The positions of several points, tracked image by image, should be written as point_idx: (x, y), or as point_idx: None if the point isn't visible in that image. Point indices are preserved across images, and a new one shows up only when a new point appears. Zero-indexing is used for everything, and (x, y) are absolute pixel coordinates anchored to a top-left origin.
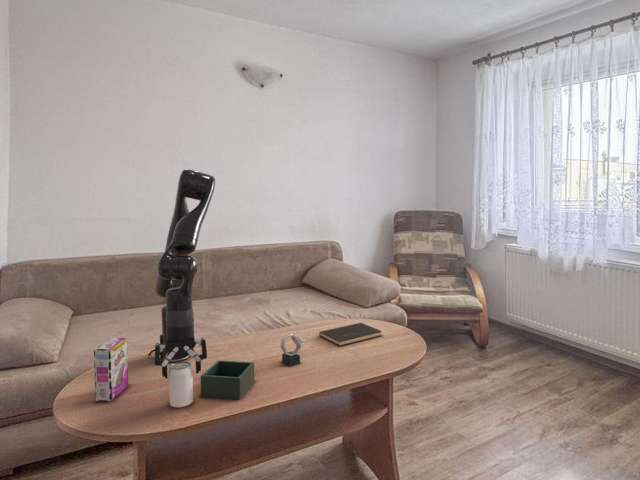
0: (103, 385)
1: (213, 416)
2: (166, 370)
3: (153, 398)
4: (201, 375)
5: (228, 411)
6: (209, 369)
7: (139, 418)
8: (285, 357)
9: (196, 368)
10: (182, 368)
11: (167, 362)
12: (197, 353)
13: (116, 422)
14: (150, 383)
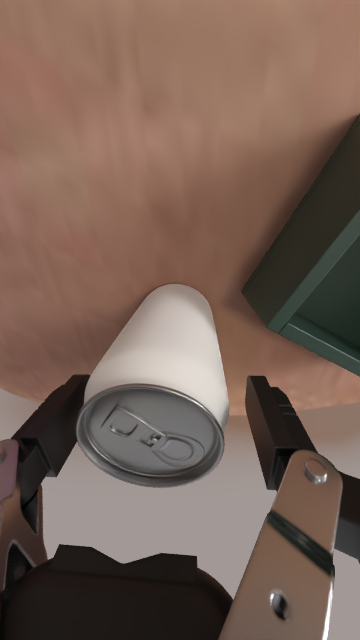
0: None
1: None
2: (68, 447)
3: (76, 246)
4: (272, 325)
5: (297, 404)
6: (345, 245)
7: (75, 362)
8: None
9: (255, 438)
10: (166, 486)
11: (37, 520)
12: (336, 530)
13: (25, 362)
14: (6, 34)
